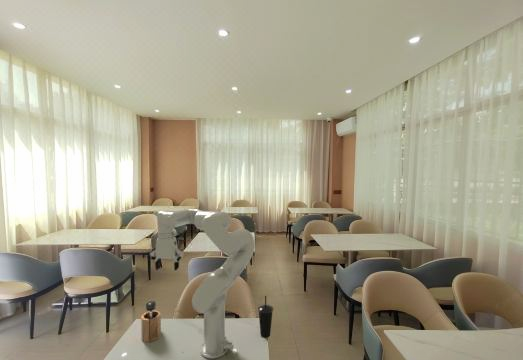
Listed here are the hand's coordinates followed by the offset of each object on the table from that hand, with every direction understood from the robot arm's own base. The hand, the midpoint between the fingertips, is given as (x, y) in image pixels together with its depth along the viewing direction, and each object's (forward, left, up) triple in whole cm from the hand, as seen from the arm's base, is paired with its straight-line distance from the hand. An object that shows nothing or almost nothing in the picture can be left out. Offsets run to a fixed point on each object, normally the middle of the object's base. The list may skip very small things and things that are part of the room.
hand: (167, 269), depth 131 cm
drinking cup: (-49, -6, -33) cm, 60 cm away
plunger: (+7, +4, -32) cm, 32 cm away
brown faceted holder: (+7, +4, -33) cm, 34 cm away
